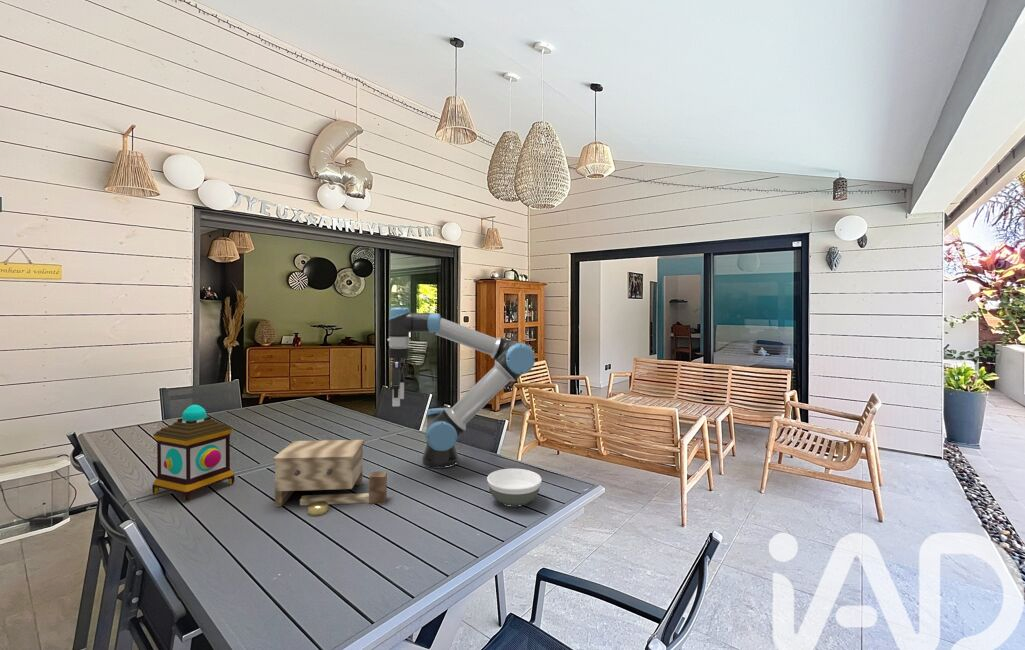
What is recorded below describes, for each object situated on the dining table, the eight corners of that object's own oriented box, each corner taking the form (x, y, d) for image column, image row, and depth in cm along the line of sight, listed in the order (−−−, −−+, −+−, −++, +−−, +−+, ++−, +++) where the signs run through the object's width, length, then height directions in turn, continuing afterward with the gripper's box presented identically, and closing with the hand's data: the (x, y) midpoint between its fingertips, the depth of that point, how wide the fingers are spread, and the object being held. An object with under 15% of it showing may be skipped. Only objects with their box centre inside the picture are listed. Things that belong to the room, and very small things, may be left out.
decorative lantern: (144, 495, 153) (143, 407, 152) (202, 475, 171) (202, 397, 170) (185, 505, 146) (184, 413, 145) (241, 483, 164) (240, 401, 163)
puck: (325, 506, 147) (325, 499, 147) (330, 513, 142) (330, 506, 142) (305, 511, 143) (305, 503, 143) (310, 518, 139) (310, 510, 139)
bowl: (501, 518, 141) (501, 492, 140) (477, 496, 157) (478, 472, 157) (551, 507, 149) (552, 483, 149) (524, 487, 166) (525, 465, 166)
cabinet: (364, 482, 168) (364, 439, 167) (352, 505, 148) (352, 457, 147) (293, 484, 164) (293, 441, 164) (271, 508, 145) (271, 459, 144)
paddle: (386, 497, 155) (386, 471, 155) (384, 503, 150) (384, 476, 150) (303, 500, 151) (304, 473, 151) (299, 506, 146) (299, 479, 146)
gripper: (393, 344, 185) (392, 396, 185) (383, 350, 160) (383, 409, 161) (411, 344, 186) (411, 396, 186) (405, 350, 161) (404, 409, 162)
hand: (398, 402), depth 174 cm, fingers open, 13 cm apart
